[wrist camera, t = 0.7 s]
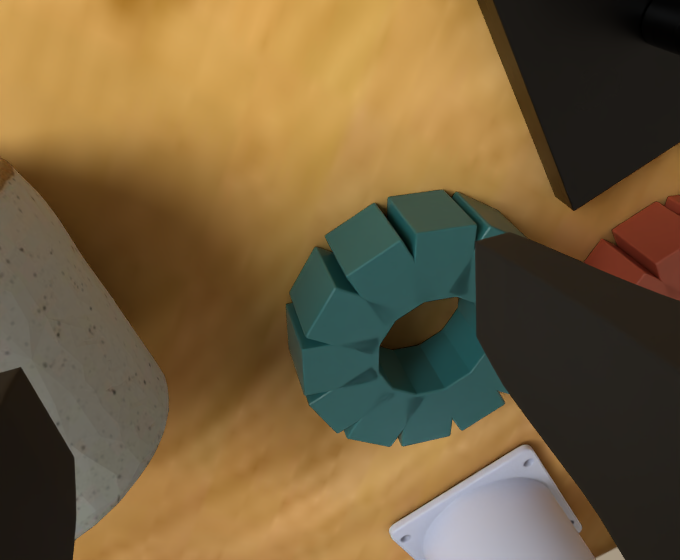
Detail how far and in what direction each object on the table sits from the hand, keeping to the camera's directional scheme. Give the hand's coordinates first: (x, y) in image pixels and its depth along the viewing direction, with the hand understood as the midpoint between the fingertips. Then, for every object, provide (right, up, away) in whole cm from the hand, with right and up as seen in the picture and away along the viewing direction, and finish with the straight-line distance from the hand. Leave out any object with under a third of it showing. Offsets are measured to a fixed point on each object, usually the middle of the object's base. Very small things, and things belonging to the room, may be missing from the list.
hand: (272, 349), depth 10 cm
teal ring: (+4, 0, +13) cm, 14 cm away
